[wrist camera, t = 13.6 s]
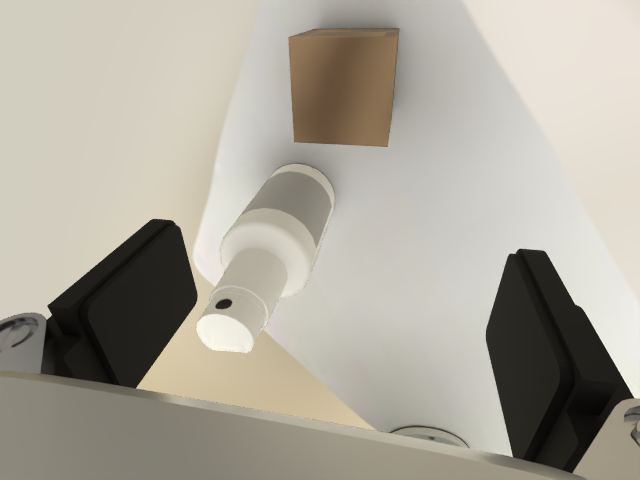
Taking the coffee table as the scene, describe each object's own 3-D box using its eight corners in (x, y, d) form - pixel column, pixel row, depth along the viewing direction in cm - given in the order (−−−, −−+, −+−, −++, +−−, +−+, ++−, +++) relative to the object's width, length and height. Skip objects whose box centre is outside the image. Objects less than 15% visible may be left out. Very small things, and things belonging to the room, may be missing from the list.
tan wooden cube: (399, 28, 26) (396, 37, 20) (391, 116, 29) (387, 146, 23) (314, 28, 27) (288, 37, 21) (316, 113, 30) (294, 142, 24)
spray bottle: (332, 160, 33) (271, 292, 18) (338, 227, 37) (291, 381, 22) (260, 163, 34) (150, 286, 20) (273, 226, 38) (187, 370, 23)
